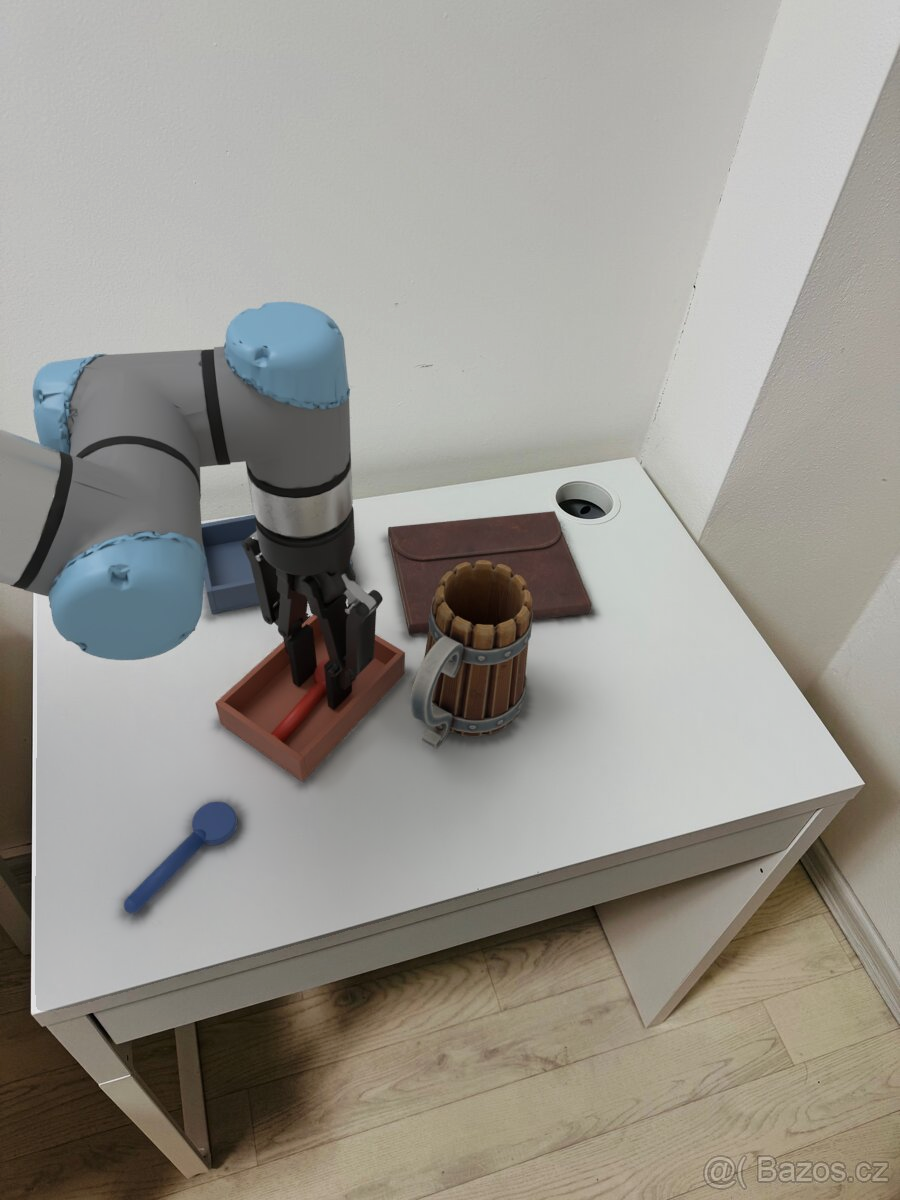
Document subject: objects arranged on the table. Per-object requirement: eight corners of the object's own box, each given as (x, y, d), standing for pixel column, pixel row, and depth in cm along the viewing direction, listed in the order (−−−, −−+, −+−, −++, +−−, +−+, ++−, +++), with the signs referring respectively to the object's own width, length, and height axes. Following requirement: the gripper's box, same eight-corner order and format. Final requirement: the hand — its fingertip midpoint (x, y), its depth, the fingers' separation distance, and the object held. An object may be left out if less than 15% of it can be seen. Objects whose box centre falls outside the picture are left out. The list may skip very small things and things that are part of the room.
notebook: (589, 615, 90) (593, 603, 89) (409, 636, 87) (409, 624, 85) (551, 520, 100) (554, 508, 99) (387, 536, 97) (387, 524, 95)
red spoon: (287, 758, 76) (286, 750, 75) (256, 739, 77) (254, 731, 76) (358, 674, 83) (358, 665, 82) (329, 658, 84) (328, 649, 83)
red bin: (302, 782, 75) (299, 761, 73) (220, 723, 79) (214, 702, 76) (404, 673, 84) (405, 652, 81) (326, 625, 87) (324, 603, 85)
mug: (452, 636, 87) (462, 533, 76) (542, 682, 84) (566, 581, 73) (366, 745, 78) (363, 645, 67) (464, 800, 75) (478, 706, 64)
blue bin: (211, 614, 87) (206, 592, 85) (198, 547, 94) (193, 524, 91) (353, 585, 91) (352, 563, 89) (332, 523, 98) (330, 501, 95)
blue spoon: (143, 928, 66) (139, 921, 65) (112, 901, 67) (108, 894, 66) (245, 821, 72) (243, 814, 71) (215, 799, 74) (213, 791, 73)
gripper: (422, 528, 63) (415, 705, 80) (257, 440, 69) (284, 623, 86) (358, 586, 59) (365, 760, 76) (188, 488, 64) (231, 670, 82)
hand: (322, 687), depth 81 cm, fingers open, 4 cm apart
